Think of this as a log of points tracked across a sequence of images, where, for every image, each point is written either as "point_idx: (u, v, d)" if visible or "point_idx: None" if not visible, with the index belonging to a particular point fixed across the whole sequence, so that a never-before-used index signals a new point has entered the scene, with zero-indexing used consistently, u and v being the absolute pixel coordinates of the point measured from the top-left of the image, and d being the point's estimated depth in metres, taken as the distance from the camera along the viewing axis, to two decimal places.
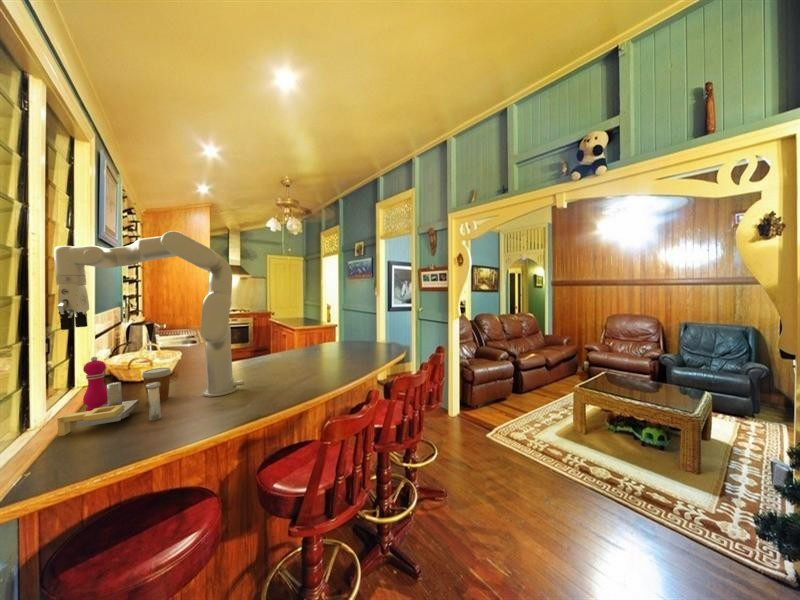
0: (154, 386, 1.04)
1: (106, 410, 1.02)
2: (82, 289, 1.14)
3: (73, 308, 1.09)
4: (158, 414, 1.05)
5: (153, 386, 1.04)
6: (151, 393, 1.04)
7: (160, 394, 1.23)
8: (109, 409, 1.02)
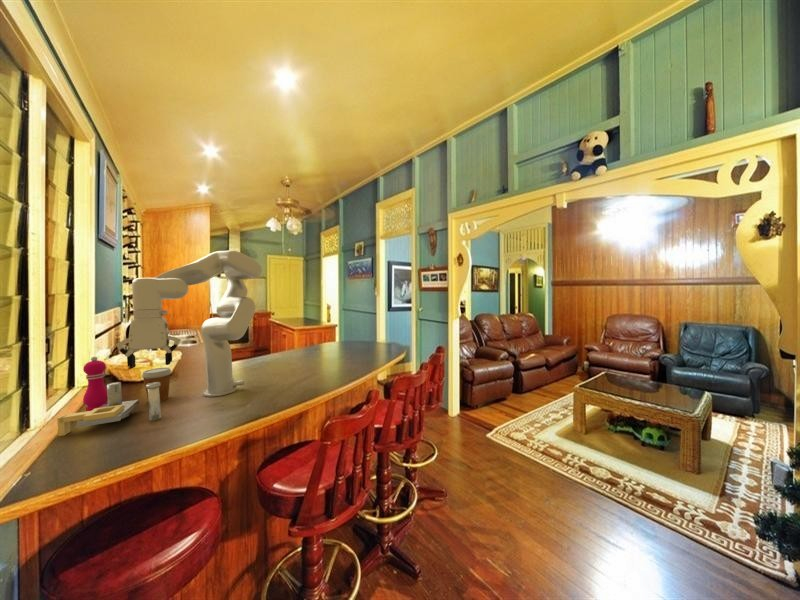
0: (154, 386, 1.04)
1: (106, 410, 1.02)
2: None
3: (169, 342, 1.09)
4: (158, 414, 1.05)
5: (153, 386, 1.04)
6: (151, 393, 1.04)
7: (160, 394, 1.23)
8: (109, 409, 1.02)
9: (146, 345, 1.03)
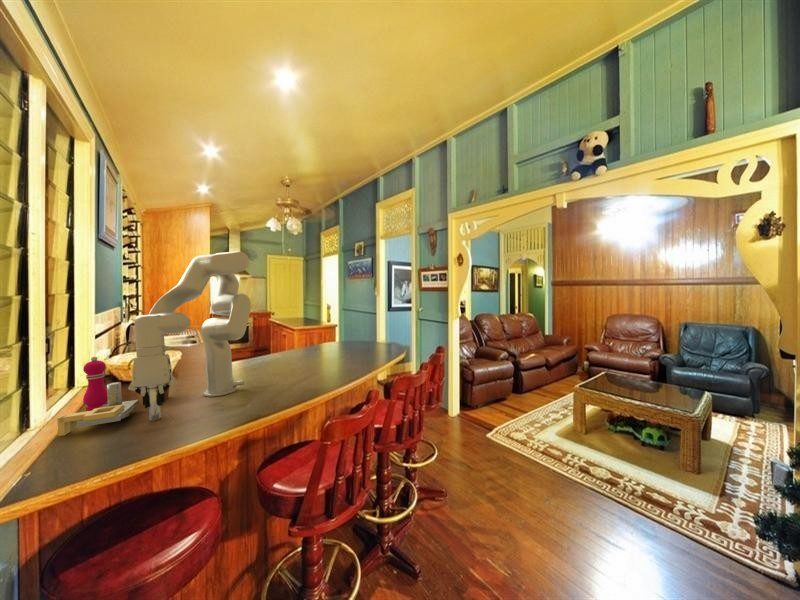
0: (154, 386, 1.04)
1: (106, 410, 1.02)
2: None
3: None
4: (158, 414, 1.05)
5: (153, 386, 1.04)
6: (151, 393, 1.04)
7: None
8: (109, 409, 1.02)
9: (149, 382, 1.03)
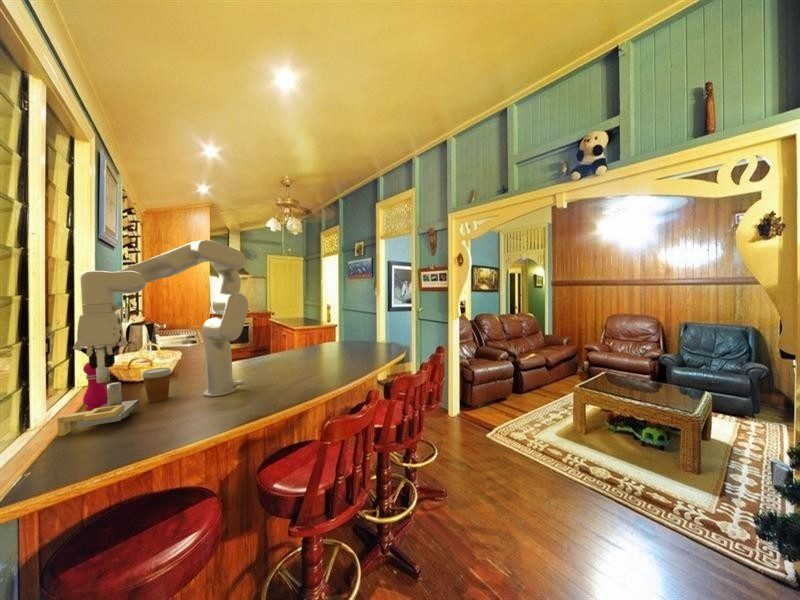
0: (102, 346, 0.98)
1: (106, 410, 1.02)
2: None
3: (123, 338, 1.04)
4: (106, 376, 1.00)
5: (100, 346, 0.98)
6: (98, 354, 0.98)
7: (160, 394, 1.23)
8: (109, 409, 1.02)
9: (96, 342, 0.98)
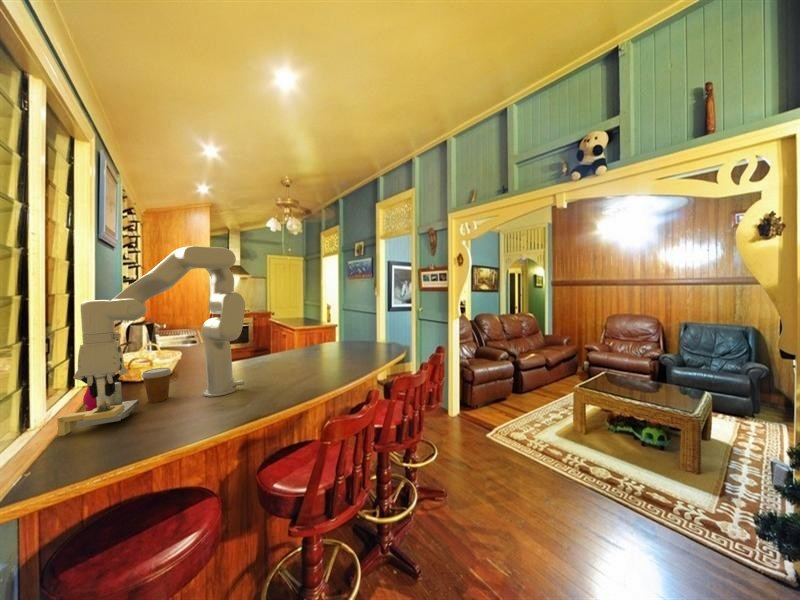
0: (102, 375, 0.99)
1: None
2: None
3: (123, 365, 1.04)
4: (107, 405, 1.00)
5: (101, 375, 0.98)
6: (98, 383, 0.98)
7: (160, 394, 1.23)
8: None
9: (96, 371, 0.98)
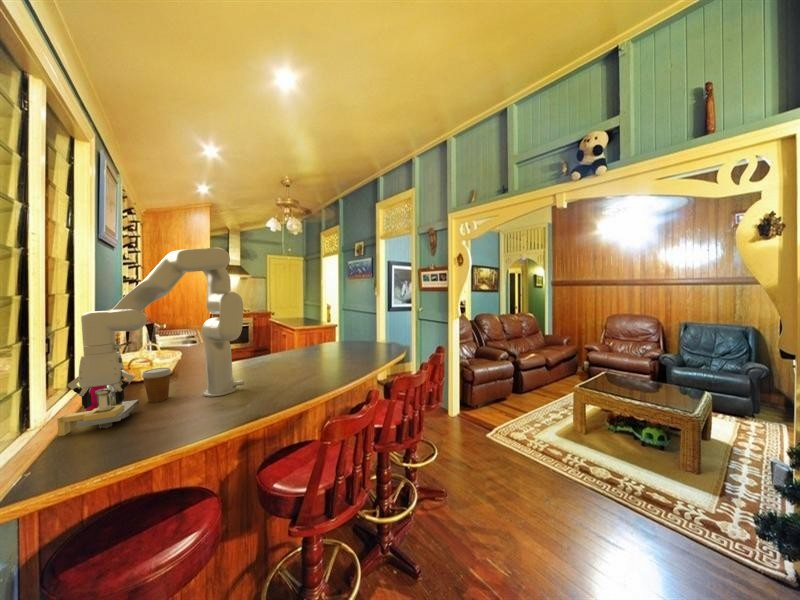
0: (104, 392, 0.99)
1: None
2: None
3: None
4: (109, 422, 1.00)
5: (103, 393, 0.99)
6: (100, 400, 0.99)
7: (160, 394, 1.23)
8: None
9: (97, 382, 0.98)
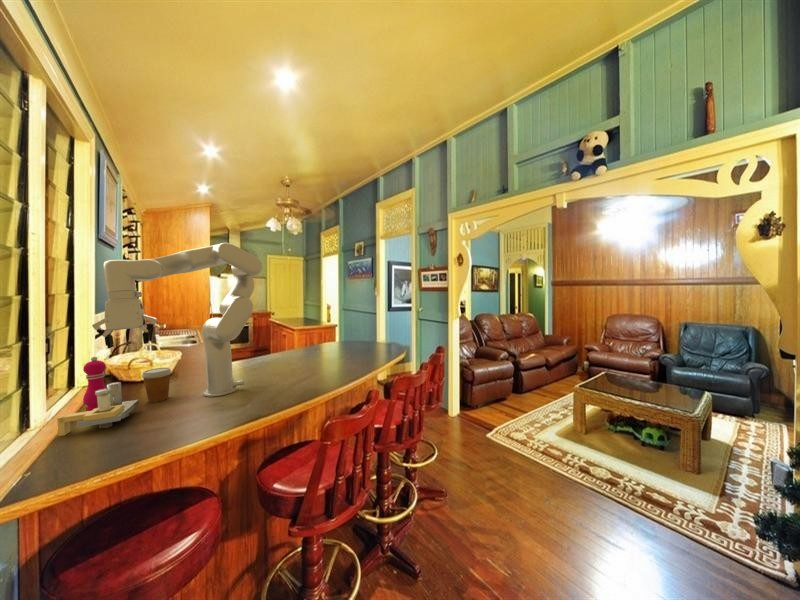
0: (104, 392, 0.99)
1: None
2: None
3: None
4: (109, 422, 1.00)
5: (103, 393, 0.99)
6: (100, 400, 0.99)
7: (160, 394, 1.23)
8: None
9: (122, 325, 1.06)
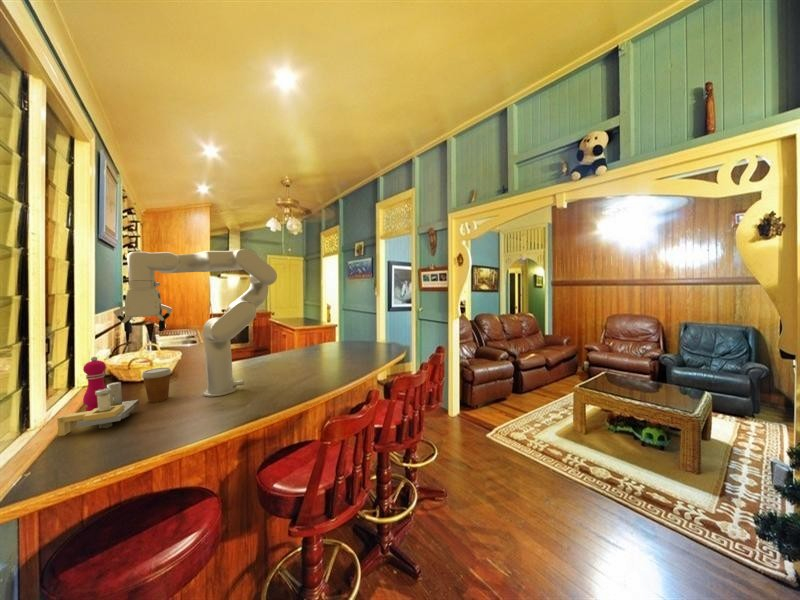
0: (104, 392, 0.99)
1: None
2: None
3: (162, 311, 1.19)
4: (109, 422, 1.00)
5: (103, 393, 0.99)
6: (100, 400, 0.99)
7: (160, 394, 1.23)
8: None
9: (141, 313, 1.13)
